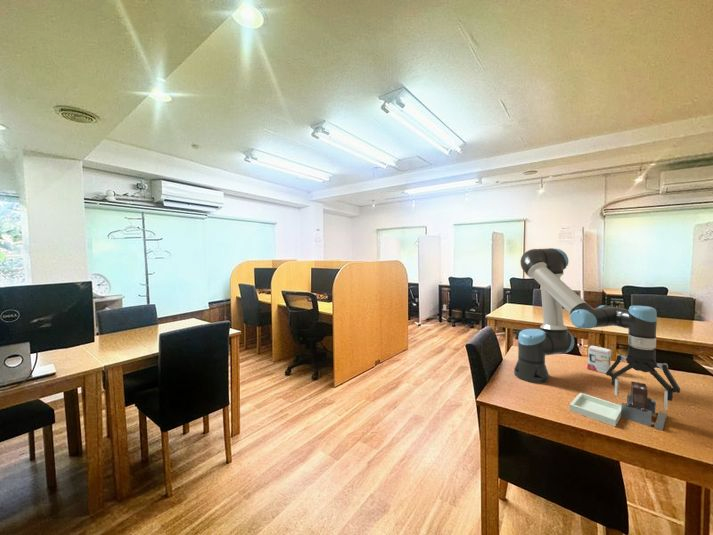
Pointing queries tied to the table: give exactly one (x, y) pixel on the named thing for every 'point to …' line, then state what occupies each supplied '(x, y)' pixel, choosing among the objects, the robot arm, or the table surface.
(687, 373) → the table surface
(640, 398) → the box
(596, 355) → the ink box
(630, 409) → the hitch bracket
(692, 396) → the table surface
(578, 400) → the tray
